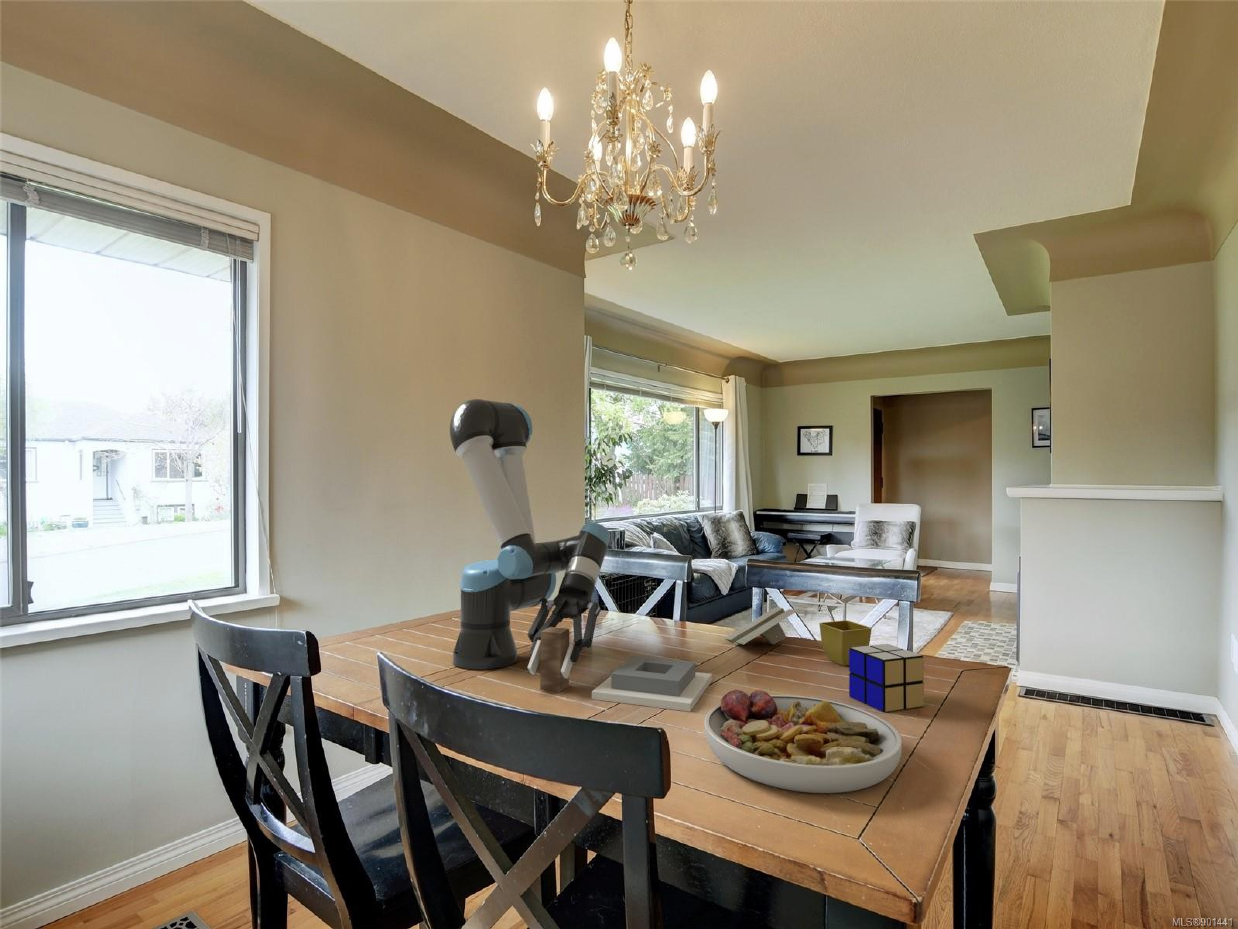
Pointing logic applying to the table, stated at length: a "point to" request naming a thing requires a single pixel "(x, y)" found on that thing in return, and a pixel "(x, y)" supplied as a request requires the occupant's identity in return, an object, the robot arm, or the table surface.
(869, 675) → the puzzle cube
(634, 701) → the socket plate
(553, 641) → the walnut peg
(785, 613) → the grey sloped stand
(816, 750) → the bowl
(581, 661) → the table surface
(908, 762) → the table surface
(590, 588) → the robot arm
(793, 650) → the table surface
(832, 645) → the flower pot
